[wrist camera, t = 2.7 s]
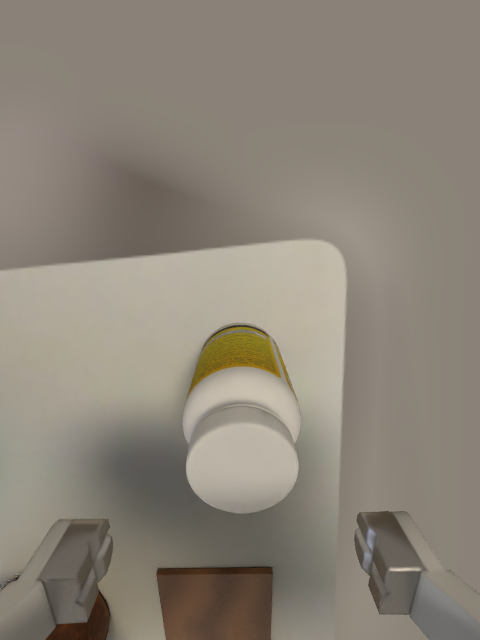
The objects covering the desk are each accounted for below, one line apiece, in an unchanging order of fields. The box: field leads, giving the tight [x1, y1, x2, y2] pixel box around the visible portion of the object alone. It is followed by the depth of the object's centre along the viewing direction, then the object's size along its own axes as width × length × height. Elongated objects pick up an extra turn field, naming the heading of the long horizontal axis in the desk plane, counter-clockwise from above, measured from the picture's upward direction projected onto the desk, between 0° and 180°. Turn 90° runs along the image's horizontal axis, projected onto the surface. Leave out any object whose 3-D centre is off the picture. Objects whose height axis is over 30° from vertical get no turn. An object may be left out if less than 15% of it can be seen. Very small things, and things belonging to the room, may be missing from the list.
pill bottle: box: [182, 323, 301, 513], centre depth 16 cm, size 6×6×11 cm
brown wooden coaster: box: [157, 568, 273, 640], centre depth 30 cm, size 12×14×1 cm
